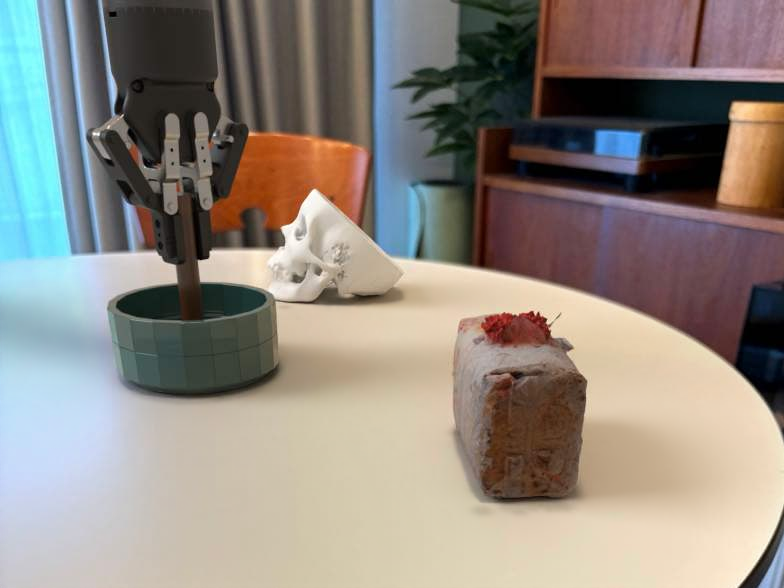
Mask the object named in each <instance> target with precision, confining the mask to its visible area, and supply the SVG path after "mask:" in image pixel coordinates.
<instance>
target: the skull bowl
mask: <svg viewBox="0 0 784 588" xmlns="http://www.w3.org/2000/svg"><path fill="white" fill-rule="evenodd" d="M280 229H281V233H282V235H283V236H284V239H285V240H284V241H285V242H284V246H279V247H278V249H277V252H276V253H275V254H273V255H272V256H271V257H270V258H269V259H268V260H267V262H266V267H267V268H269V274H270V277H271V282H270V284H269V286H268V289H267V291H268V292H270V293H272V294H273V296H274V298H275V301H281V302H306V303H307V302H313V301H315V300H317V299H318V297H319V296H320V295H321V294H322V293H323V290H324V289H325V288H329V287H330V286H331V285H333V284H334V285H335V286H336V287H337V293H338V294H339V295H347V294H352V295H357V296H376V295H384V294H386V293H387V292H388V291H389V290H390V289H391V288H392V287H394V286H395V285H396V284H397V283H398V282H399V280H401V278H402V276H403V275H404V274H405V272H404V270H403V269H402V268H401V267H400V266H399V265H398V263H396V262H395V260H393V258H391V256H390V255H389V254H388V253H387V252H386V251H385V250H383V249H382V248H381V247H380V246H379V245H378V244H377V243H376V242H375V241H374V240H373V239H372V238H371V237H370V236H369V235H368V234H367V233H366V232H364V231H363V230H362V229H361V228H360V227H359V226H358V225H357V224H356V223H355V222H354V221H353V220H352V219H350V217H348V216H347V215H346V214H345V213H344V212H343V211H342V210H341V209H339V207H337V205H335V204H334V203H333V202H332V201H331V200H330V199H329V198H327V197H326V196H325V195H324V194H323V193H322V192H320V191H319V190H318V189H317V188H313V189H312V190H311V191H310V193H309V194H308V196H307V197H306V198H305V199H304V201H303V202H302V204H301V206H300V209H299V211H298V214H297V217H296V218H295V220H294V221H293V222H292V223H288V224H286V225H283V226H282V225H281V227H280ZM323 272H324V273H326V274H323V275H322V273H323Z"/></svg>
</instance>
